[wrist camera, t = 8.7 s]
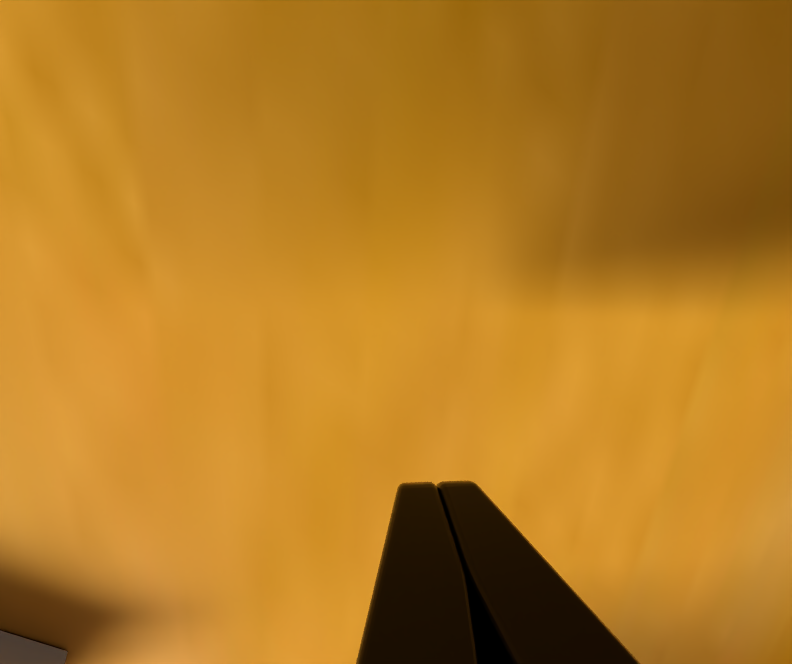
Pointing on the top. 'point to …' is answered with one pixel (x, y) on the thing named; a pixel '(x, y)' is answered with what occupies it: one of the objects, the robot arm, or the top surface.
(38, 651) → the guide dock
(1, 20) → the top surface
